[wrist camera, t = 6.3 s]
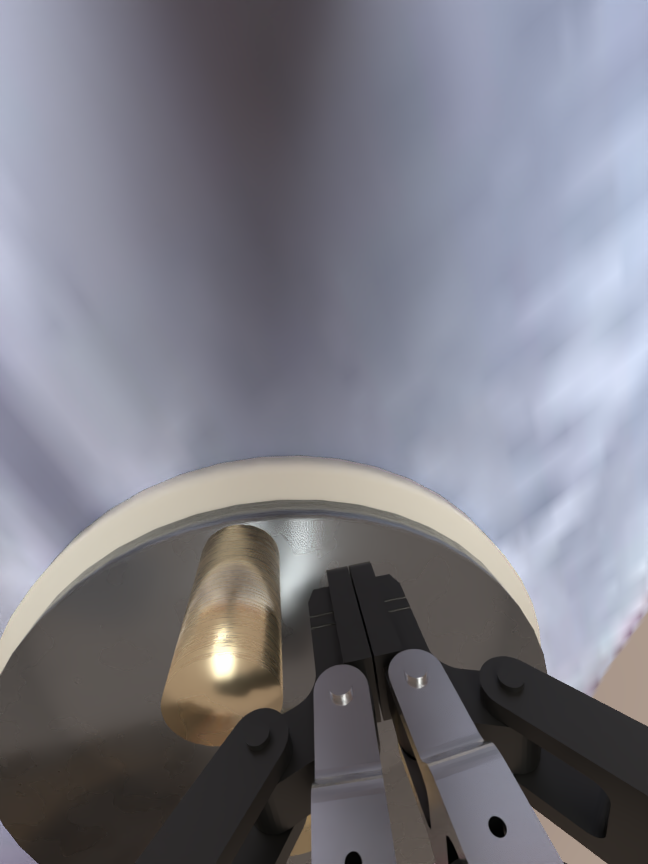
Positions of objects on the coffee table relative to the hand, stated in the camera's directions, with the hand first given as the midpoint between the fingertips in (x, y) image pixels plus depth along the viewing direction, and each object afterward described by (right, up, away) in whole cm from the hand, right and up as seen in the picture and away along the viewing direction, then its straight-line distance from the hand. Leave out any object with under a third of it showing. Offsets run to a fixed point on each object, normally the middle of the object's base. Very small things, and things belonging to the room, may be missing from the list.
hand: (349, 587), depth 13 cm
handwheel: (-3, -11, +8) cm, 14 cm away
